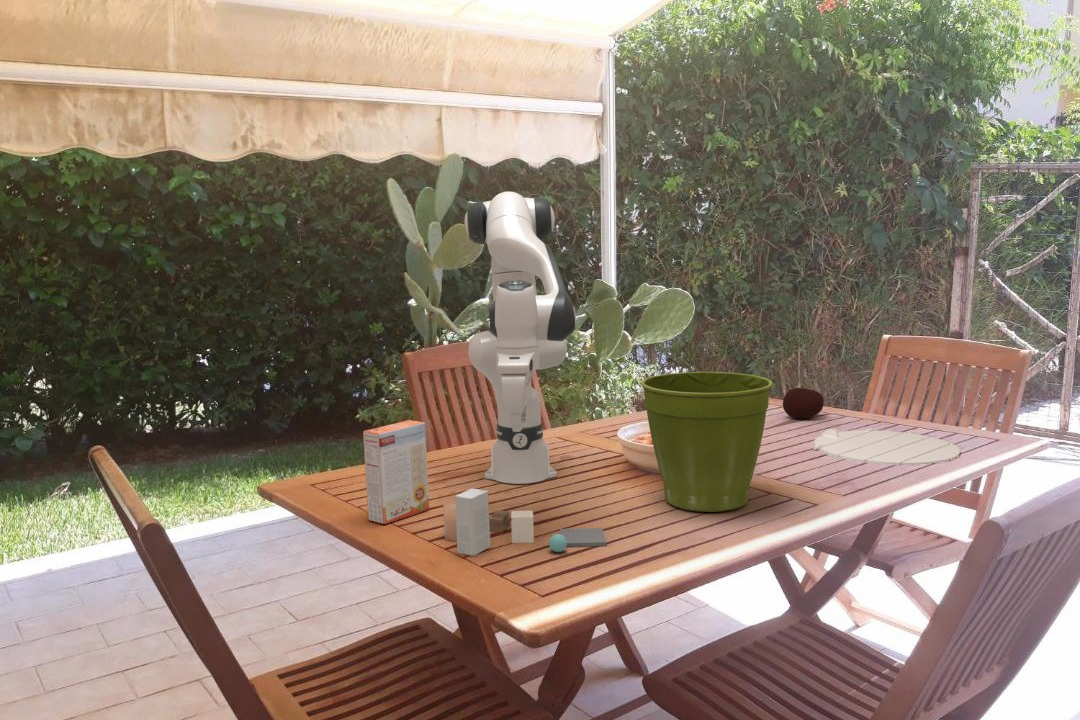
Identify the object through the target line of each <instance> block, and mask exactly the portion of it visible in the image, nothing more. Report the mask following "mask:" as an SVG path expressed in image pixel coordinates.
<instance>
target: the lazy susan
mask: <svg viewBox="0 0 1080 720" xmlns="http://www.w3.org/2000/svg"><path fill="white" fill-rule="evenodd" d="M813 450H818V451H819V452H821V453H823V454H825V455H829V456H831V457H834V458H838V459H841V458H842V460H846V461H851V460H853V461H852V462H857V461H858V462H859V463H863V462H865V464H871V463H876V464H875V465H882V464H895V465H894V466H901V465H914V466H921V465H920V464H931V465H933V464H932V463H939V462H944V461H947V460H951V459H954V458H956V457H957V456H959V454H960V455H961V450H960V448H959V447H958V446H957V445H955V444H954V443H951V442H950V441H946V440H944V439H940V438H936V437H934V436H933V437H932V436H929V435H923V434H916V433H909V432H902V431H890V430H875V429H874V427H873V428H872V427H870V428H868V429H864V430H861V429H860V430H844V431H839V430H838V429H836V428H830V429H829V428H828V429H825V430H824V431H822V432H821V434H820V435H819V436H817V437H816V438H815V439H814V442H813ZM959 457H960V456H959ZM956 459H957V458H956ZM954 460H955V459H954ZM858 462H857V463H858ZM900 464H901V465H900ZM939 464H940V463H939Z"/></svg>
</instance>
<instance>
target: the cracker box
mask: <svg viewBox="0 0 1080 720" xmlns="http://www.w3.org/2000/svg"><path fill="white" fill-rule="evenodd" d="M426 431H427V430H426V423H425V422H423V421H417V420H412V419H408V420H407V419H406V420H404V421H399V422H397V423H391V424H387V425H383V426H379V427H376V428H375V427H374V428H371V429H367V430H364V431H363V432H362V437H363V451H364V453H363V455H364V467H365V469H364V472H365V486H366V501H367V502H366V503H367V504H366V505H367V517H368V519H369V520H372V521H375V522H378V523H377V524H379V523H381V524H380V525H382V524H387V523H389V524H391V523H390V522H392V523H395V522H398V521H400V520H399V519H401V520H403V519H406V518H408V517H409V518H410V517H412V516H414V515H418V514H420V513H423V511H424V512H427V511H428V510H430V499H429V496H430V495H429V478H428V475H429V474H428V459H427V458H428V456H427V453H428V451H427V435H426ZM402 518H403V519H402ZM368 519H367V520H368ZM369 520H368V521H369ZM397 520H398V521H397ZM394 521H395V522H394ZM375 522H374V523H375ZM387 525H388V524H387Z"/></svg>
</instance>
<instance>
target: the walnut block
mask: <svg viewBox="0 0 1080 720" xmlns="http://www.w3.org/2000/svg"><path fill="white" fill-rule="evenodd" d="M510 517H511V515H510V511H509V510H497V509H496V510H495V511H494V513H492V514H491V516H489V528H490V533H503V532H504V531H505V529H506V528H508V526H509V525H510V523H511V519H510Z"/></svg>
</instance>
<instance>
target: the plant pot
mask: <svg viewBox="0 0 1080 720" xmlns="http://www.w3.org/2000/svg"><path fill="white" fill-rule="evenodd" d="M640 385H641V387H642V388H643V400H644V408H645V409H646V413H647V414H646V416H647V420H648V427H649V430H650V437H651V441H652V447H653V449H654V455H655V458H656V462H657V466H658V468H659V469H658V470H659V472H660V477H661V479H662V484H663V487H664V499H665V501H666V502H667V503H668V504H670V505H672V506H674V507H676V508H678V509H682V510H686V511H693V512H707V513H708V512H709V513H712V512H713V513H714V512H715V513H716V512H717V513H718V512H727V511H731V510H736V509H738V508H741V507H742V506H744V505H746V503H748V501H749V493H750V492H749V490H750V489H749V488H750V485H751V482H752V479H753V475H754V471H755V468H756V464H757V461H758V456H759V453H760V450H761V444H762V440H763V435H764V429H765V423H766V416H767V409H768V408H769V403H770V402H769V401H770V398H769V397H770V389H771V388H772V387H773V381H772V380H771V379H769V378H766V377H763V376H761V375H760V376H759V375H755V374H748V373H747V374H746V373H737V372H727V371H726V372H723V371H690V372H687V371H686V372H685V371H684V372H675V373H673V372H671V373H664V374H663V373H662V374H657V375H653V376H649V377H646V378H644V379H642V380H641V382H640Z"/></svg>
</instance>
